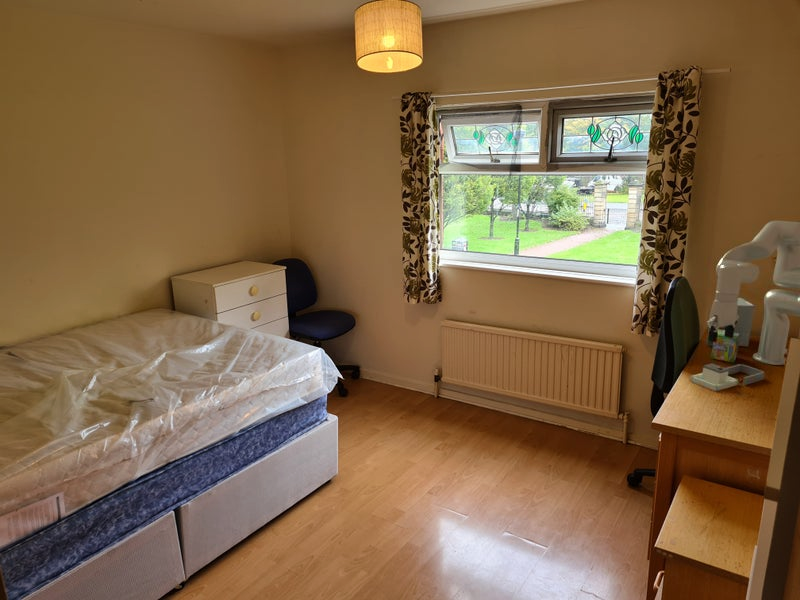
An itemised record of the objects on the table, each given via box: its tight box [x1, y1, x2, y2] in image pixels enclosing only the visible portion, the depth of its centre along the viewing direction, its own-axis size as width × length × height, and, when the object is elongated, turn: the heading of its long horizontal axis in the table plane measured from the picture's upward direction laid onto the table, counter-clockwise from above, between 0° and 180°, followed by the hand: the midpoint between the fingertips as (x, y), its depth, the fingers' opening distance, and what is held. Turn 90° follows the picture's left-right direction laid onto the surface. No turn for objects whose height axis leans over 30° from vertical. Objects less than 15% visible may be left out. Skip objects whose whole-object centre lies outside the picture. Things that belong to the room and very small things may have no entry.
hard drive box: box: [734, 297, 756, 347], centre depth 260 cm, size 16×8×20 cm, turn 168°
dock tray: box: [689, 372, 739, 392], centre depth 216 cm, size 13×11×2 cm
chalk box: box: [710, 329, 741, 363], centre depth 240 cm, size 9×9×15 cm
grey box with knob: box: [702, 363, 729, 385], centre depth 215 cm, size 5×7×7 cm
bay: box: [725, 363, 766, 386], centre depth 220 cm, size 13×10×3 cm
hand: (720, 339), depth 212 cm, fingers open, 9 cm apart
